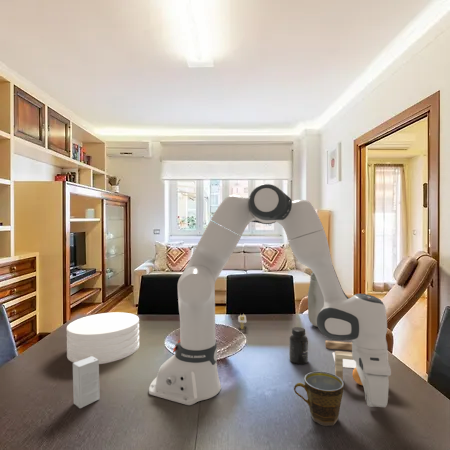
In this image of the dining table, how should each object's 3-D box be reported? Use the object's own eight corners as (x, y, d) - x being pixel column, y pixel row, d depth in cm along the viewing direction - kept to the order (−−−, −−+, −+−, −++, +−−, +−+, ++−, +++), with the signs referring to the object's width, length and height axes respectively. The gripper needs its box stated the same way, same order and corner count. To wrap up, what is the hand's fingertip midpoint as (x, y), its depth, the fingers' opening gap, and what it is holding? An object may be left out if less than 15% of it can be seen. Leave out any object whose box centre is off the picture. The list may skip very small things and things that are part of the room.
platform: (230, 335, 141) (230, 321, 141) (230, 322, 159) (230, 310, 159) (255, 334, 141) (255, 321, 141) (252, 322, 159) (252, 309, 159)
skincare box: (92, 394, 92) (92, 355, 92) (100, 399, 89) (99, 359, 89) (72, 403, 87) (72, 362, 87) (79, 409, 84) (78, 367, 84)
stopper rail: (325, 348, 124) (325, 342, 124) (325, 346, 126) (325, 340, 126) (367, 351, 120) (367, 345, 120) (366, 349, 122) (366, 343, 122)
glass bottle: (310, 321, 157) (309, 268, 157) (330, 324, 153) (330, 269, 152) (306, 327, 148) (305, 271, 148) (328, 330, 144) (327, 272, 144)
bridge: (385, 388, 94) (385, 358, 94) (336, 382, 97) (336, 354, 97) (382, 383, 96) (382, 354, 96) (335, 378, 100) (334, 350, 100)
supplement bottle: (308, 365, 109) (308, 332, 109) (289, 364, 110) (289, 331, 110) (307, 357, 116) (307, 326, 115) (289, 356, 117) (289, 325, 117)
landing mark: (335, 366, 108) (335, 366, 108) (332, 352, 120) (332, 352, 120) (372, 370, 105) (372, 369, 105) (364, 355, 117) (364, 354, 117)
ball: (353, 388, 96) (355, 379, 93) (349, 371, 100) (351, 362, 97) (372, 389, 95) (374, 380, 92) (367, 372, 99) (369, 363, 96)
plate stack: (52, 366, 111) (52, 335, 111) (85, 337, 139) (84, 312, 139) (128, 364, 112) (128, 333, 112) (145, 336, 140) (145, 311, 140)
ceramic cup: (335, 405, 85) (334, 370, 85) (351, 430, 75) (350, 390, 75) (289, 407, 84) (289, 371, 84) (299, 431, 74) (299, 391, 74)
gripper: (350, 338, 94) (351, 382, 94) (365, 370, 74) (365, 425, 74) (372, 340, 92) (372, 385, 92) (393, 372, 72) (393, 429, 73)
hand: (369, 403), depth 83 cm, fingers closed
